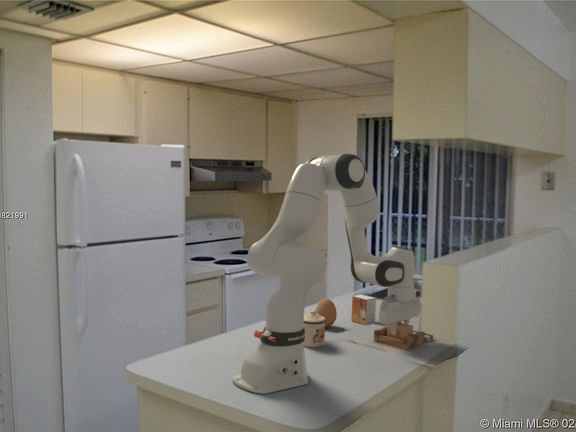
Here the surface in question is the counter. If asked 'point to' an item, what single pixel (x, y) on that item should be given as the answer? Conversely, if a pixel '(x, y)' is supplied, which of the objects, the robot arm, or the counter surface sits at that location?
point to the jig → (406, 344)
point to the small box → (363, 309)
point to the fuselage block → (400, 331)
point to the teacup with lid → (314, 329)
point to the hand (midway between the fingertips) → (399, 332)
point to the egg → (327, 311)
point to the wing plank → (425, 336)
